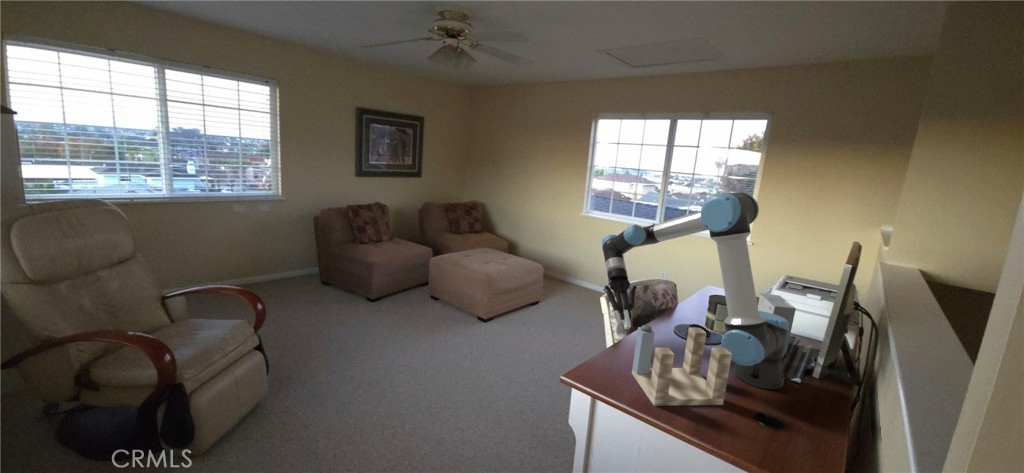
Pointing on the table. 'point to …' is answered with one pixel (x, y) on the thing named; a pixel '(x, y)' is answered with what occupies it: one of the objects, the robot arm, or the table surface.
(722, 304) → the coffee can
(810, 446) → the table surface
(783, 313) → the hard drive box
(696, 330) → the upturned stool
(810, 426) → the table surface
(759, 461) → the table surface
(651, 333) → the pale blue upright post
